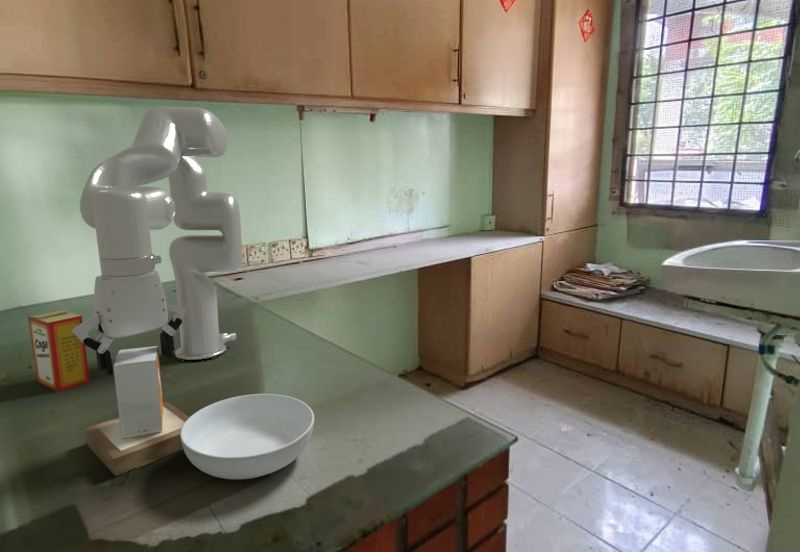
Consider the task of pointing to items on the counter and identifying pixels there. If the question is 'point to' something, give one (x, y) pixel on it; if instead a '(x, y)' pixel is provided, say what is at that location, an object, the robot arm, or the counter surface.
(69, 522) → the counter surface
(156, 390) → the small box
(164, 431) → the picture frame
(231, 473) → the serving bowl
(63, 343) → the baking soda box
